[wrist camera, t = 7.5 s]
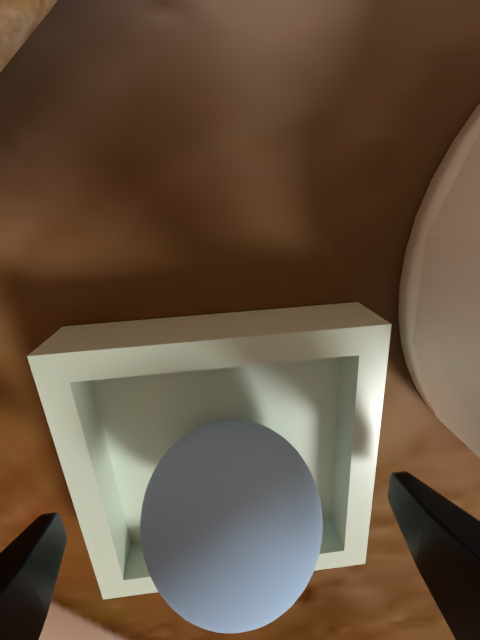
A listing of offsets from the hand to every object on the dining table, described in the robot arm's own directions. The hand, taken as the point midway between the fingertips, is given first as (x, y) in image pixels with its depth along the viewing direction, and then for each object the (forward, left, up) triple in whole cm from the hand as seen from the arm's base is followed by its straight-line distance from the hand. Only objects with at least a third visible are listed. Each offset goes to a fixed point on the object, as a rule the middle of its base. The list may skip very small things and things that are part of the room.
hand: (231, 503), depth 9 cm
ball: (0, 0, 0) cm, 0 cm away
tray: (0, 0, -3) cm, 3 cm away
